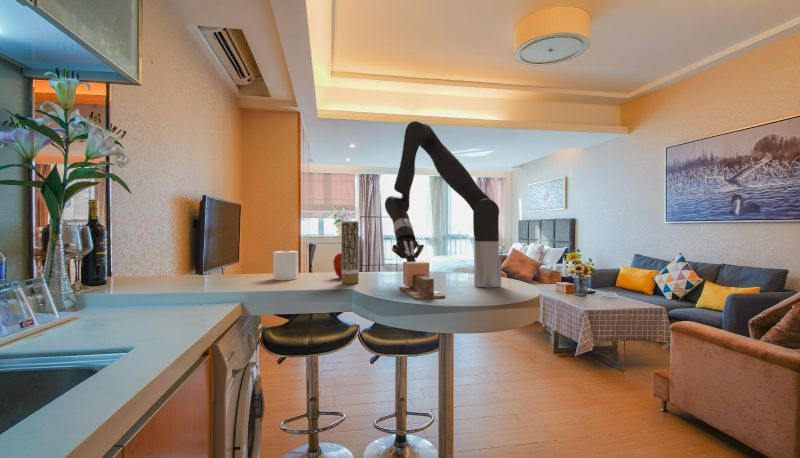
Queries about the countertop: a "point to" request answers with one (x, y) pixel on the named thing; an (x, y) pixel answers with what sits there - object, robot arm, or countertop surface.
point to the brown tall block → (350, 252)
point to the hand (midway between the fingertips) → (412, 265)
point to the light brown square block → (414, 271)
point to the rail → (422, 288)
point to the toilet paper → (285, 265)
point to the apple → (338, 264)
